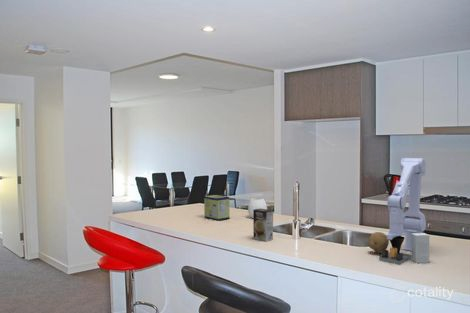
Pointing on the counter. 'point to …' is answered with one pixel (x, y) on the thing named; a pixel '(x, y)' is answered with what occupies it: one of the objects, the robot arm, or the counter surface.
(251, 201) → the cup
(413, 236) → the skincare box
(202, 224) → the counter surface
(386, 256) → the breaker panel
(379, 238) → the natural sponge
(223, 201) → the protein box
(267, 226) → the coffee box
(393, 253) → the block
